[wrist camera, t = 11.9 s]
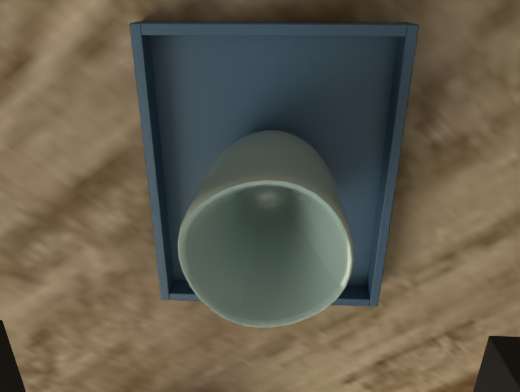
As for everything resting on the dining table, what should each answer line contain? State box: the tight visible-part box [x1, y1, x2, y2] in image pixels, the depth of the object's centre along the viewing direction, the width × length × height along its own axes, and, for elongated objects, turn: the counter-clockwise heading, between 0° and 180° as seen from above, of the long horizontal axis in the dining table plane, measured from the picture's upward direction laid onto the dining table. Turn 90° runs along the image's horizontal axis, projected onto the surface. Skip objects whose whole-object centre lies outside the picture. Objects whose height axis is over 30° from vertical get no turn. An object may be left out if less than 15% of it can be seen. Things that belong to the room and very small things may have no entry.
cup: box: [178, 130, 354, 328], centre depth 23 cm, size 8×8×10 cm
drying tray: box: [130, 21, 419, 306], centre depth 27 cm, size 15×18×2 cm
